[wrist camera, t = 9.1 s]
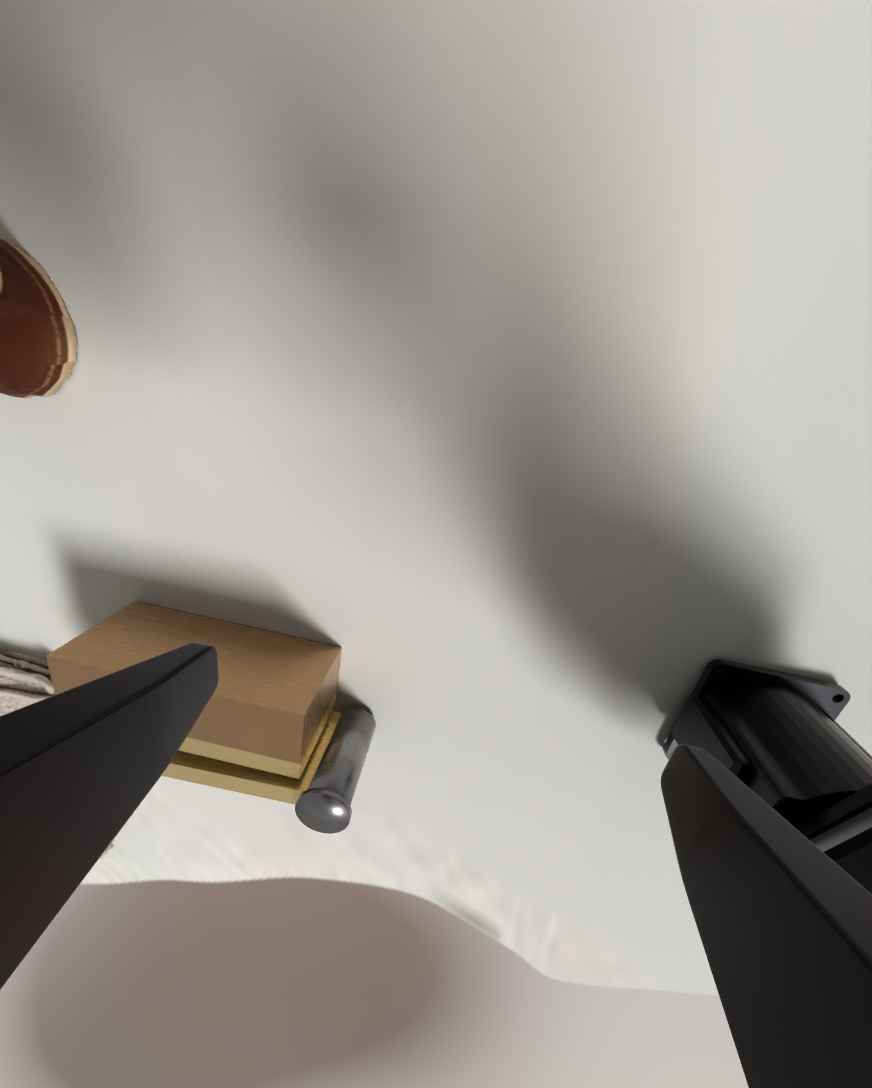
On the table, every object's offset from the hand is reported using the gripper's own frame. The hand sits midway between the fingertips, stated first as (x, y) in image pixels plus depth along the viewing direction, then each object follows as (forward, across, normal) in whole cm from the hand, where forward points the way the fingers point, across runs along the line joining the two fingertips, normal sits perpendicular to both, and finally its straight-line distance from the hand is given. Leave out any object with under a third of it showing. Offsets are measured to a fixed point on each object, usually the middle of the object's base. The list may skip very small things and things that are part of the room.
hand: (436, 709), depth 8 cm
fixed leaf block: (+12, +11, +10) cm, 20 cm away
